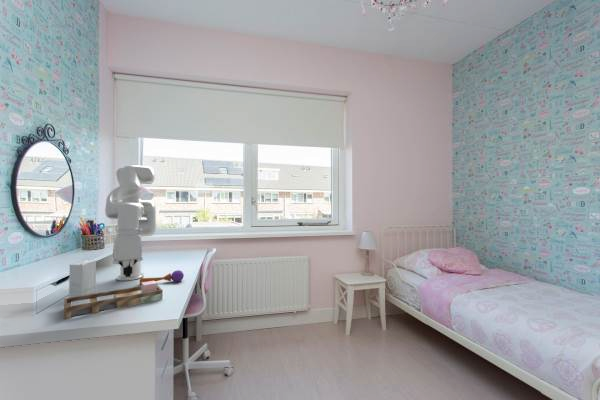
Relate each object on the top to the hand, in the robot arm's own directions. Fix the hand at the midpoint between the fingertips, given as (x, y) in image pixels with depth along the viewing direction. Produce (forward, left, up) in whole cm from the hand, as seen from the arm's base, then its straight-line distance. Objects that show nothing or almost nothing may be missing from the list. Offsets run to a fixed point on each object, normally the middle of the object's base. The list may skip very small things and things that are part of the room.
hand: (127, 276), depth 115 cm
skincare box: (-20, -14, -11) cm, 27 cm away
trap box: (+1, -4, -10) cm, 11 cm away
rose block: (+1, +8, -8) cm, 11 cm away
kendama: (-19, +18, -11) cm, 29 cm away
